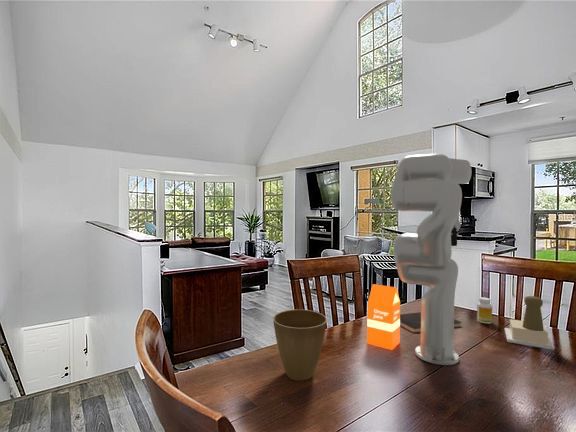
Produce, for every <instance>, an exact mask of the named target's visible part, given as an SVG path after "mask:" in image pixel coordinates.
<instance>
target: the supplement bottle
mask: <svg viewBox="0 0 576 432" xmlns="http://www.w3.org/2000/svg"><path fill="white" fill-rule="evenodd" d="M478 301H479V302H477V307H476V321H477V322H479V323H482V324H488V325H489V324H492V323H493V305H492V304H491V299H490V298H488V297H483V296H480V297H479V298H478Z"/></svg>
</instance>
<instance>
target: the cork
mask: <svg viewBox="0 0 576 432" xmlns="http://www.w3.org/2000/svg"><path fill="white" fill-rule="evenodd" d="M543 302H544V301H543V299H542V298H540V297H539V296H534V295H533V296H531V295H529V296H527V295H526V296H525V298H524V304H525V310H524V315H523V320H522V321H523V327H524V328H526V329H529V330H533V331H543V330H544V328H543V325H544V323H543V322H544V321H543V314H542V307H543V306H544V305H543Z"/></svg>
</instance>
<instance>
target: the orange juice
mask: <svg viewBox="0 0 576 432" xmlns="http://www.w3.org/2000/svg"><path fill="white" fill-rule="evenodd" d="M400 314H401V300H400V297H399V291H398V289H397V287H396V286H390V285H389V286H387V285H383V284H375V283H374V284H373V283H372V286H371V290H370V292H369V297H368V301H367V319H366V320H367V321H366V324H367V325H366V328H367V331H366V332H367V333H366V334H367V335H366V336H367V337H366V339H367V340H366V343H367V344H368V345H372V346H375V347H380V348H383V349H386V350H391V351H393V350H394V349H395V348H396V347H397V346H398V345H399V344H400V343H401V342H400V341H401V340H400V339H401V338H400V337H401V336H400V334H401V333H400V332H401V325H400Z"/></svg>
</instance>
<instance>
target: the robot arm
mask: <svg viewBox="0 0 576 432" xmlns="http://www.w3.org/2000/svg"><path fill="white" fill-rule="evenodd" d="M472 171H473V170H472V166H471V162H470V161H469V160H467V159H459V158H458V159H457V158H450V157H448V156H447V155H446V154H443V153H427V154H426V153H425V154H413V155H411V154H410V155H407V156H404V157H403V158H402V159H401V160H400V162H399V164H398V166H397V169H396V173H395V176H394V179H393V182H392V183H393V184H392V187H391V192H390V201H391V202H390V203H391V205H392V207H393V208H394V209H395V210H396V211H399V212H431V214H429V215H428V216H427V217H425V218H424V219H423V220H422V221H421V222H420V223H419V224H418V226H417V228H416V233H402V234H399V235H398V236H397V237H395V240H394V243H393V257H394V263H395V266H396V270H397V274H398V277H399V279H400V280H401V281H402V282H403V283H405V284H409V285H418V286H426V287H430V288H429V289H428V290H427V291H426V292H424V293H423V295H422V297H421V300H420V312H421V331H420V344H419V345H418V346H416V347H415V349H414V353H415V355H416V357H418V358H419V359H420V360H422V361H424V362H427V363H431V364H434V365H438V366H439V365H441V366H452V365H456V364H457V363H459V361H460V356H459V353H457V352H456V351H455V350H454V347H455V346H454V343H455V342H454V341H455V340H454V339H455V337H454V336H455V334H454V333H455V332H454V331H455V327H454V319H455V297H456V288H457V287H456V286H457V281H458V276H459V275H458V274H459V266H458V263H457V262H456V261H455V260H454V259H452V252H453V251H452V247H457V246H458V235H459V232H460V229H461V226H462V223H461V222H460V211H461V206H462V199H463V192H462V187H461V186H460V184H461V185H464V184H468V183H469V182H470V180H471V178H472V175H473V174H472Z"/></svg>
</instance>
